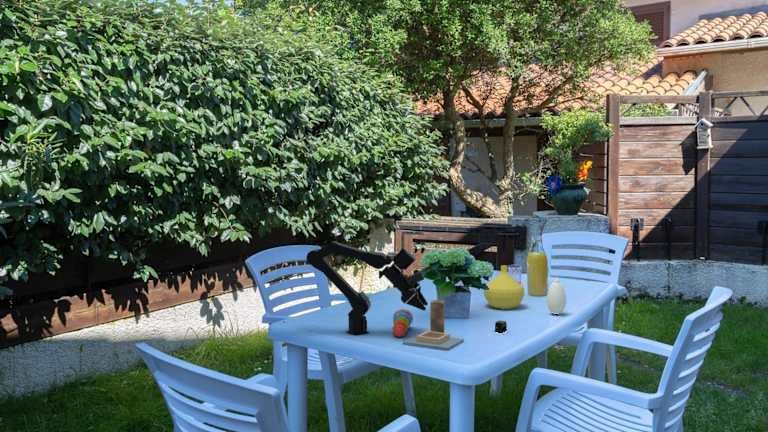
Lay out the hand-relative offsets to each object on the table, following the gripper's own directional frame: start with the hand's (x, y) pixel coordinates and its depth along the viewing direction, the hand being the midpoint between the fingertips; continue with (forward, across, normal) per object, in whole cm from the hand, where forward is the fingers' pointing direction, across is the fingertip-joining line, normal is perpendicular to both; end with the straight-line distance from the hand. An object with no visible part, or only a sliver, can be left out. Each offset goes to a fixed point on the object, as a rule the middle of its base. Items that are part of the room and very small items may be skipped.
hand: (426, 307), depth 259 cm
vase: (+30, +55, -14) cm, 64 cm away
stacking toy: (-3, +12, +12) cm, 17 cm away
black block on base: (+28, +8, -12) cm, 32 cm away
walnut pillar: (+11, 0, +5) cm, 12 cm away
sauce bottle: (+45, +42, -30) cm, 68 cm away
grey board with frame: (+10, -12, +5) cm, 16 cm away
